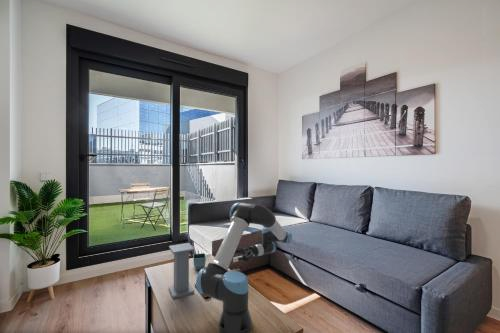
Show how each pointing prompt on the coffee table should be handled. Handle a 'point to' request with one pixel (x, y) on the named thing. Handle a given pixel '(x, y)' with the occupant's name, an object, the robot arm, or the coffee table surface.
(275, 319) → the coffee table surface
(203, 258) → the flower pot
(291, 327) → the coffee table surface
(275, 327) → the coffee table surface
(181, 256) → the plinth
